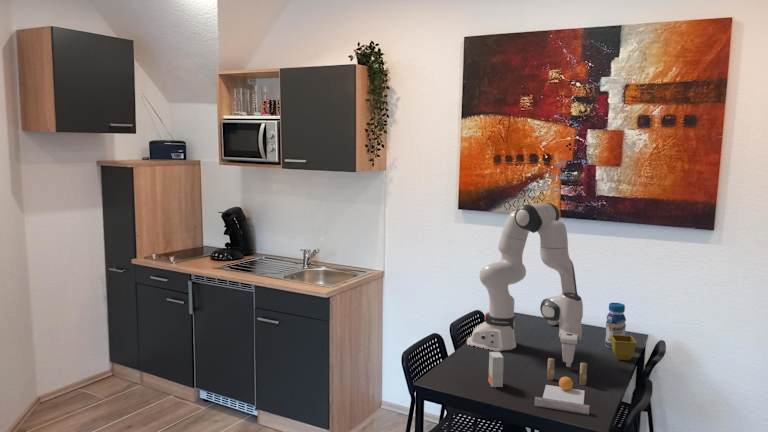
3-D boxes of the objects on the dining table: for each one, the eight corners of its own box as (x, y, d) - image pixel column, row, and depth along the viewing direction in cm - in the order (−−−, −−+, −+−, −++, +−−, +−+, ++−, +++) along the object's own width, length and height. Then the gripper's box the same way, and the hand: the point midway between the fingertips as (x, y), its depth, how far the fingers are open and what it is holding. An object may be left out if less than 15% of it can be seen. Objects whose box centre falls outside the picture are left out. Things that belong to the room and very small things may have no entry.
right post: (579, 384, 219) (580, 364, 218) (579, 382, 221) (580, 362, 220) (585, 385, 218) (587, 365, 217) (586, 383, 220) (587, 363, 219)
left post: (546, 379, 223) (547, 359, 222) (547, 377, 225) (548, 357, 224) (553, 380, 222) (554, 360, 221) (553, 378, 224) (554, 358, 224)
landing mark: (542, 399, 205) (542, 399, 205) (545, 385, 218) (545, 384, 218) (583, 406, 200) (583, 406, 200) (584, 391, 213) (584, 390, 213)
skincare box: (488, 381, 220) (489, 351, 219) (498, 381, 221) (500, 351, 219) (491, 388, 214) (492, 357, 213) (503, 387, 215) (504, 357, 213)
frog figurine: (560, 327, 290) (561, 314, 289) (546, 326, 292) (546, 313, 291) (560, 324, 296) (561, 311, 295) (546, 322, 298) (547, 309, 297)
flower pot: (635, 362, 242) (636, 342, 241) (613, 361, 244) (614, 340, 243) (630, 355, 251) (632, 335, 250) (609, 354, 253) (611, 334, 252)
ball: (559, 373, 216) (559, 385, 217) (558, 380, 211) (558, 392, 212) (573, 374, 214) (573, 387, 215) (572, 381, 210) (572, 393, 211)
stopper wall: (534, 405, 200) (534, 398, 199) (535, 403, 202) (535, 396, 201) (588, 414, 193) (589, 407, 193) (589, 412, 195) (589, 405, 195)
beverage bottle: (621, 344, 266) (623, 302, 264) (626, 350, 258) (629, 307, 256) (602, 343, 267) (604, 301, 265) (607, 349, 259) (610, 306, 256)
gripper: (564, 325, 243) (562, 356, 244) (560, 339, 224) (558, 373, 225) (579, 326, 240) (578, 358, 242) (577, 341, 221) (575, 375, 223)
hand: (568, 365), depth 233 cm, fingers closed
